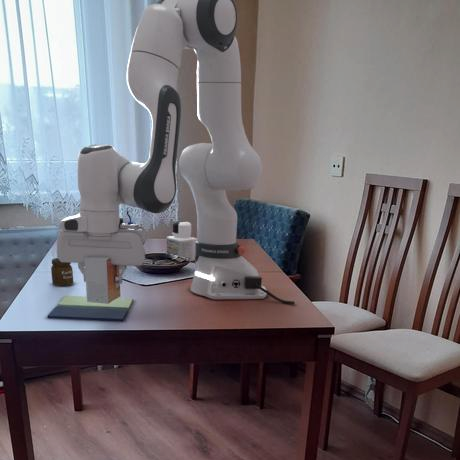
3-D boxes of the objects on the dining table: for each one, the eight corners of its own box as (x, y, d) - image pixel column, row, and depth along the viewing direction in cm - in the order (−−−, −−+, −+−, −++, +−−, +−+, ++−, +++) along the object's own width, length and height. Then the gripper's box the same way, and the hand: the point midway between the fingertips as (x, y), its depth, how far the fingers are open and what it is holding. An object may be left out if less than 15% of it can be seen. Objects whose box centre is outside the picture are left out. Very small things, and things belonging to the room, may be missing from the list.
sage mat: (132, 301, 149) (132, 298, 149) (128, 309, 142) (128, 307, 142) (65, 297, 149) (65, 295, 148) (57, 306, 141) (57, 304, 141)
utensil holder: (48, 285, 159) (43, 242, 153) (60, 280, 164) (57, 238, 159) (66, 287, 157) (62, 244, 152) (78, 282, 163) (75, 240, 157)
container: (166, 258, 198) (166, 220, 192) (182, 256, 203) (183, 219, 197) (180, 262, 193) (180, 224, 187) (196, 260, 198) (197, 222, 192)
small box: (108, 304, 131) (106, 259, 126) (86, 302, 132) (83, 257, 127) (121, 296, 138) (119, 253, 134) (100, 293, 139) (98, 251, 134)
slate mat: (127, 311, 141) (127, 309, 141) (122, 321, 134) (122, 319, 133) (56, 308, 140) (56, 306, 140) (47, 318, 133) (47, 315, 133)
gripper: (147, 222, 130) (147, 281, 136) (59, 218, 129) (64, 277, 136) (144, 227, 125) (144, 287, 131) (52, 222, 124) (57, 283, 130)
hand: (103, 282), depth 133 cm, fingers closed on small box, 6 cm apart
